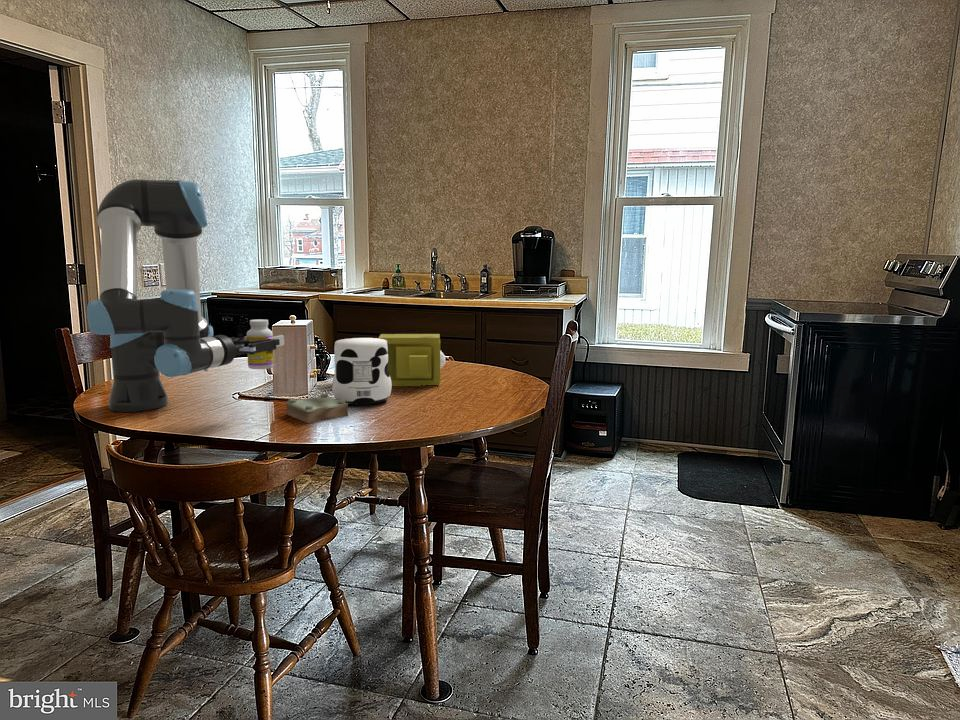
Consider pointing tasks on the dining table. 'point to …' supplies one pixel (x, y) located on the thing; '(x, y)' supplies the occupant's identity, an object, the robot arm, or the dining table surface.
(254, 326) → the supplement bottle
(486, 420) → the dining table surface
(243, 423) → the dining table surface
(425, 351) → the olive green rectangular box
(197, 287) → the robot arm
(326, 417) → the base plate
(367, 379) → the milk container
